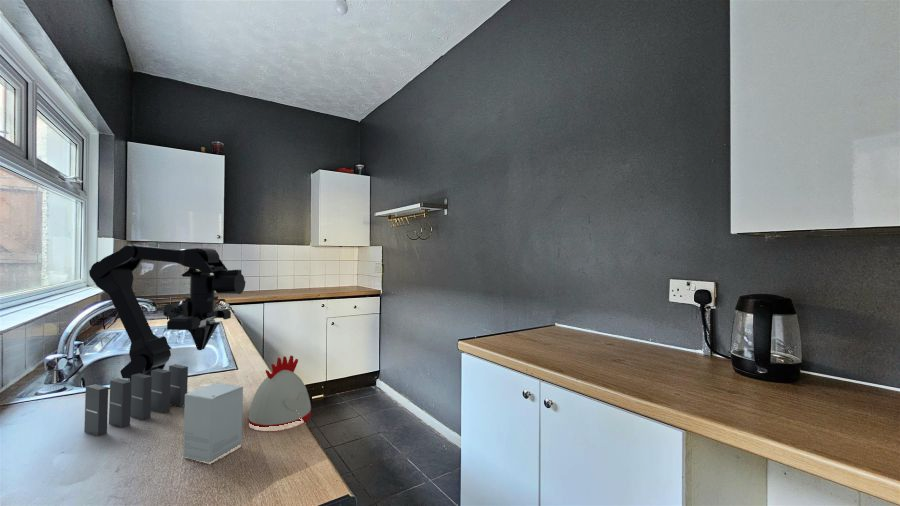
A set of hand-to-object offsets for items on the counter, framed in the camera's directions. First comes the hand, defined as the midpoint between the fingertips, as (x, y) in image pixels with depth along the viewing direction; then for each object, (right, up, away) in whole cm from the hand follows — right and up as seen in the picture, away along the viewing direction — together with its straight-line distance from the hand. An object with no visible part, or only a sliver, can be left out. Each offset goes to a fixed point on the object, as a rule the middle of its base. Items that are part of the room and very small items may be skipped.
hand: (200, 349), depth 102 cm
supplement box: (+22, -14, -28) cm, 38 cm away
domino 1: (-9, -13, -21) cm, 26 cm away
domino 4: (-4, -13, -9) cm, 16 cm away
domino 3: (-5, -13, -13) cm, 19 cm away
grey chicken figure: (+28, -14, -12) cm, 33 cm away
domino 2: (-7, -13, -17) cm, 23 cm away
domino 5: (-2, -13, -5) cm, 14 cm away
